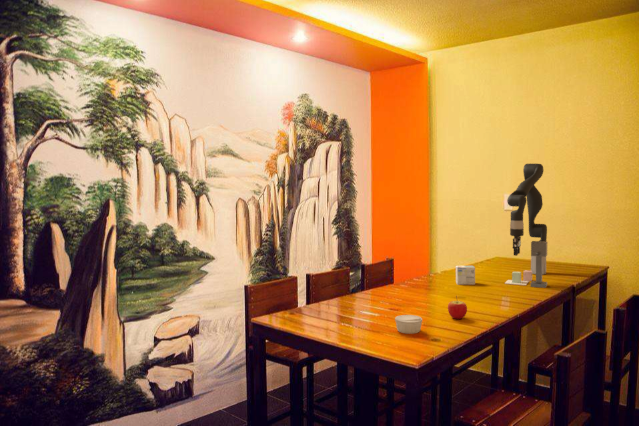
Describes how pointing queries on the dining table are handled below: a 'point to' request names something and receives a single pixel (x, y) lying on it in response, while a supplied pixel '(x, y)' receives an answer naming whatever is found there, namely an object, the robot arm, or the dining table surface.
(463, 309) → the apple
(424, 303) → the dining table surface
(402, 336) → the dining table surface
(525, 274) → the block
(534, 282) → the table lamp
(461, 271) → the light bulb box
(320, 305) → the dining table surface
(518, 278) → the pale green rectangular block
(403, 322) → the ramekin
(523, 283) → the plate
